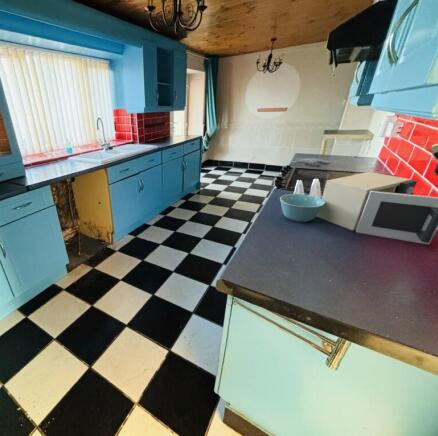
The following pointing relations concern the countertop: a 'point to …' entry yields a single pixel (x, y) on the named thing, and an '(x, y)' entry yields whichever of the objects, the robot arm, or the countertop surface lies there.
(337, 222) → the microwave
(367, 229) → the microwave door
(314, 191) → the shaker set
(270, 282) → the countertop surface
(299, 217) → the bowl
